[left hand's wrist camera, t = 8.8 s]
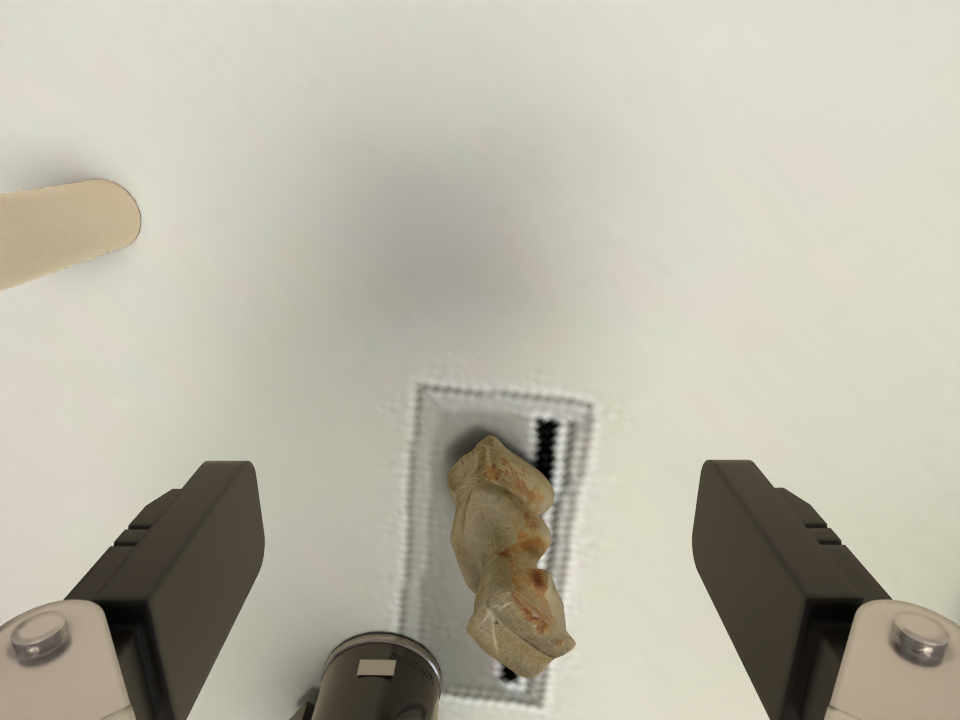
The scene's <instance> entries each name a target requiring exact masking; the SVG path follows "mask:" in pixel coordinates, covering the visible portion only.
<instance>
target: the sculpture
mask: <svg viewBox="0 0 960 720" xmlns="http://www.w3.org/2000/svg"><path fill="white" fill-rule="evenodd" d="M447 479H448V486H449V489H450V492H451V495H452V498H453V500H454V502H455V504H456V507H457V509H456V513H455V517H454V522H453V526H452V531H451V544H452V547H453V550H454V553H455V556H456V559H457V562H458V564H459V567H460V570H461V572H462V574H463V577H464V579H465V582H466V583H467V585H468V587H469V588H470V589H471V590H472V591H473V592H474V593H475V594H476V598H475V603H474V614H473V615H472V617H471V618H470V620H469V622H468V625H467V633H468V634H470V635H471V636H472V638H473V639H474V641H475V642H476V643H477V644H478V645H479V646H480V647H481V648H482V649H483V650H484V651H485V652H486V653H487V654H488V655H490V656H492V657H493V658H495V659H496V660H498V661H499V662H501V663H502V664H504V665H505V666H507V667H508V668H509V669H511V670H512V671H513V672H515V673H516V674H518V675H520V676H522V677H525V678H533V677H535V676H536V675H538V674H540V673H541V672H543V671H544V670H545V668H546V667H547V665H548V664H549V663H550V662H551V661H552V660H554V659H555V658H558V657H560V656H563V655H564V654H566V653H568V652H569V651H571V650H572V649H573V648H574V646H575V644H576V643H575V641H574V640H573V639H572V637H571V636H570V635H569V634H568V633H567V631H566V623H565V615H564V605H563V602H562V600H561V598H560V596H559V594H558V593H557V591H556V588H555V585H554V582H553V579H552V576H551V573H550V572H549V571H547V570H543V569H538V568H537V567H536V564H537V562H538V560H539V559H540V558H541V556H542V555H543V554H544V553H545V552H546V550H547V548H548V547H549V544H550V541H551V534H550V531H549V529H548V527H547V525H546V524H545V522H544V521H543V520H542V518H541V517H540V516H539V515H541V514H543V513H545V512H546V511H548V510H549V509H550V508H551V506H552V504H553V501H554V490H553V488H552V486H551V484H550V482H549V481H548V480H547V478H546V477H545V476H544V475H543V474H542V473H541V472H540V471H538V470H537V469H536V468H534V467H533V466H532V465H530V464H529V463H527V462H526V461H525V460H523V459H521V458H520V457H518V456H516V455H515V454H513V453H512V452H510V451H509V450H508V449H507V448H506V447H505V446H503V445H502V443H501V441H500V440H499V439H498V438H496V437H495V436H492V435H489V436H487V437H485V438H484V439H482V440H481V441H480V442H478V443H477V444H476V447H475V448H474V449H473V450H472V451H471V452H469V453H468V454H465V455H463V456H462V457H461V458H460V459H459V460H458V461H457V462H456V463H455V465H454V466H453V467H452V469H451V470H450V471H449V473H448V475H447Z"/></svg>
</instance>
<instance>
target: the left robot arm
mask: <svg viewBox="0 0 960 720" xmlns="http://www.w3.org/2000/svg"><path fill="white" fill-rule="evenodd" d="M264 547H265V537H264V529H263V522H262V514H261V507H260V500H259V493H258V486H257V479H256V473H255V469H254V466H253V464H252V463H251V462H250V461H206V462H204V463H203V464H202V465H201V466H200V467H199V468H198V470H197V471H196V472H195V473H194V475H193V476H192V477H191V478H190V479H189V481H188V482H187V483H186V484H185V486H184V487H183V488H182V489H172V490H170V491H169V492H167V493H165V494H164V495H162V496H161V497H159V498H158V499H156V500H154V501H153V502H151V503H150V504H148V505H146V506H145V507H144V509H143V510H142V511H141V512H140V513H139V514H138V515H137V517H136V518H135V519H134V520H133V521H132V522H131V523H130V525H129V528H128V530H124V531H123V533H122V534H121V535H120V536H119V537H118V538H117V539H116V541H115V542H114V546H110V547H109V549H108V550H107V551H106V552H105V553H104V554H103V555H102V556H101V558H100V559H99V560H98V561H97V562H96V563H95V564H94V566H93V567H92V568H91V569H90V570H89V571H88V572H87V574H86V575H85V576H84V577H83V578H82V579H81V580H80V582H79V583H78V584H77V585H76V586H75V587H74V588H73V590H72V591H71V592H70V593H69V594H68V595H67V596H66V598H65V599H64V600H63V601H57V602H52V603H48V604H45V605H42V606H39V607H36V608H33V609H31V610H28V611H26V612H24V613H22V614H20V615H18V616H16V617H14V618H13V619H11V620H9V621H8V622H6V623H5V624H3V625H2V626H0V720H186V719H187V717H188V715H189V713H190V711H191V709H192V707H193V705H194V703H195V701H196V699H197V697H198V695H199V693H200V691H201V689H202V687H203V685H204V683H205V681H206V679H207V677H208V675H209V673H210V671H211V669H212V667H213V665H214V663H215V661H216V658H217V656H218V654H219V652H220V650H221V648H222V646H223V644H224V642H225V640H226V638H227V636H228V634H229V632H230V630H231V628H232V626H233V624H234V622H235V620H236V618H237V616H238V614H239V612H240V610H241V608H242V606H243V604H244V602H245V600H246V598H247V596H248V594H249V592H250V590H251V588H252V586H253V584H254V582H255V579H256V577H257V575H258V573H259V571H260V568H261V565H262V561H263V556H264ZM692 549H693V556H694V561H695V565H696V568H697V571H698V573H699V575H700V577H701V579H702V581H703V583H704V585H705V587H706V589H707V591H708V593H709V595H710V597H711V599H712V601H713V604H714V606H715V608H716V610H717V612H718V614H719V616H720V618H721V620H722V622H723V624H724V626H725V628H726V630H727V632H728V634H729V636H730V638H731V640H732V642H733V645H734V647H735V649H736V651H737V653H738V655H739V657H740V659H741V661H742V663H743V665H744V667H745V669H746V671H747V673H748V675H749V677H750V679H751V681H752V684H753V686H754V688H755V690H756V692H757V694H758V696H759V698H760V700H761V702H762V704H763V706H764V708H765V710H766V712H767V714H768V716H769V718H770V720H960V626H958V625H957V624H955V623H954V622H952V621H951V620H949V619H947V618H946V617H944V616H942V615H940V614H938V613H936V612H934V611H932V610H929V609H927V608H924V607H921V606H918V605H915V604H912V603H908V602H903V601H897V600H892V598H891V597H890V596H889V595H888V594H887V593H886V592H885V590H884V589H883V588H882V587H881V586H880V585H879V583H878V582H877V581H876V580H875V579H874V578H873V577H872V575H871V574H870V573H869V572H868V571H867V570H866V568H865V567H864V566H863V565H862V564H861V563H860V562H859V560H858V559H857V558H856V557H855V556H854V555H853V554H852V552H851V551H850V550H849V549H848V548H847V547H846V545H842V544H841V540H840V539H839V537H838V536H837V535H836V534H835V533H834V532H833V530H832V529H831V528H827V524H826V522H825V521H824V520H823V519H822V518H821V517H820V516H819V514H818V513H817V512H816V511H815V510H814V509H813V507H812V506H811V505H810V504H808V503H807V502H805V501H804V500H802V499H800V498H799V497H797V496H796V495H794V494H792V493H791V492H789V491H788V490H786V489H785V488H774V487H773V486H772V484H771V483H770V482H769V481H768V479H767V478H766V477H765V476H764V475H763V473H762V472H761V471H760V470H759V468H758V467H757V466H756V465H755V463H754V462H752V461H751V460H707V461H705V463H704V464H703V466H702V470H701V475H700V482H699V490H698V497H697V504H696V511H695V518H694V526H693V533H692ZM321 683H322V684H321V687H320V691H319V694H318V698H317V701H316V704H315V705H313V704H311V703H309V702H306V703H305V704H304V705H303V706H302V707H301V708H300V709H299V710H298V711H297V712H296V713H295V714H294V715H293V716H292V717H291V718H290V719H289V720H438V705H439V699H440V695H441V683H442V679H441V672H440V669H439V667H438V664H437V663H436V661H435V659H434V658H433V657H432V656H431V654H430V653H429V652H428V651H426V650H425V649H424V648H423V647H421V646H420V645H418V644H417V643H415V642H413V641H411V640H409V639H406V638H403V637H400V636H395V635H390V634H369V635H363V636H359V637H356V638H353V639H351V640H349V641H347V642H345V643H343V644H342V645H340V646H339V647H338V648H337V649H336V650H335V651H334V652H333V653H332V654H331V655H330V657H329V658H328V660H327V662H326V665H325V668H324V672H323V675H322V682H321Z"/></svg>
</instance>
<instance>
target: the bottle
mask: <svg viewBox="0 0 960 720" xmlns="http://www.w3.org/2000/svg"><path fill="white" fill-rule="evenodd" d="M140 225H141V218H140V212H139V209H138V207H137V204H136V203H135V201H134V199H133V198H132V197H131V195H130V194H129V193H128V192H127V191H126V190H124V189H123V188H122V187H120V186H119V185H117V184H115V183H113V182H110V181H107V180H101V179H96V180H89V181H82V182H76V183H69V184H63V185H56V186H50V187H43V188H37V189H30V190H24V191H17V192H11V193H4V194H0V291H3V290H6V289H9V288H11V287H14V286H17V285H20V284H23V283H25V282H28V281H31V280H34V279H37V278H39V277H42V276H45V275H48V274H51V273H54V272H56V271H59V270H62V269H65V268H68V267H70V266H73V265H76V264H79V263H82V262H84V261H87V260H90V259H93V258H96V257H98V256H101V255H104V254H107V253H110V252H113V251H115V250H118V249H121V248H124V247H126V246H128V245H129V244H131V243H132V242H133V241H134V240H135V238H136V237H137V235H138V233H139V230H140Z"/></svg>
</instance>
